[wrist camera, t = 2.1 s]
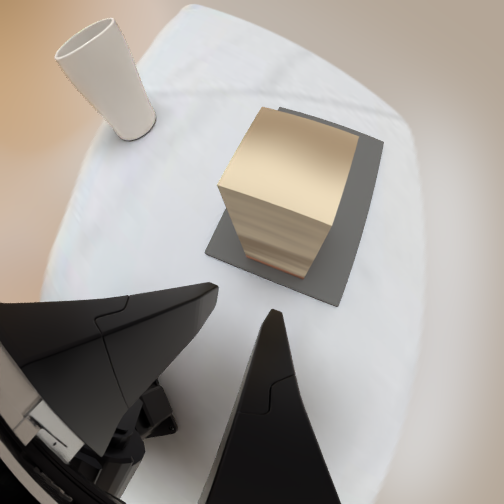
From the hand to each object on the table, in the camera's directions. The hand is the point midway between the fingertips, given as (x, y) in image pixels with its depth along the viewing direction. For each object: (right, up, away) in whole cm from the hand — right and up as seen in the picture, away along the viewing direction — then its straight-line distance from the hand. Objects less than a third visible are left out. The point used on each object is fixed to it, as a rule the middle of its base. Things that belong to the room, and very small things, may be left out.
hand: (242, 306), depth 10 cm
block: (+3, +3, +13) cm, 14 cm away
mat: (+5, +8, +15) cm, 17 cm away
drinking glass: (-14, +18, +19) cm, 30 cm away
